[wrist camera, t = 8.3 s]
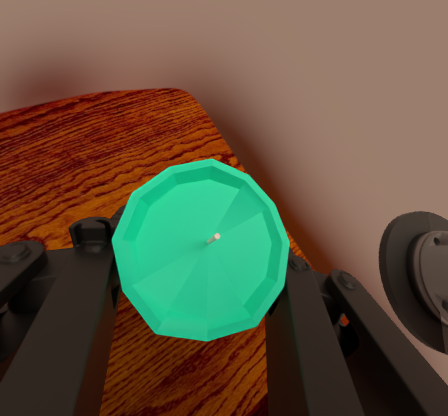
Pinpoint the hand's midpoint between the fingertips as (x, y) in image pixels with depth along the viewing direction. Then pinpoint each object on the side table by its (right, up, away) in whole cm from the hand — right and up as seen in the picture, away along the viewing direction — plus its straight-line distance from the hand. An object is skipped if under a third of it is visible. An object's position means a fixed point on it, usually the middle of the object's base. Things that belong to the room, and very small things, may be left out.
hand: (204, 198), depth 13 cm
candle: (-1, -5, +3) cm, 6 cm away
